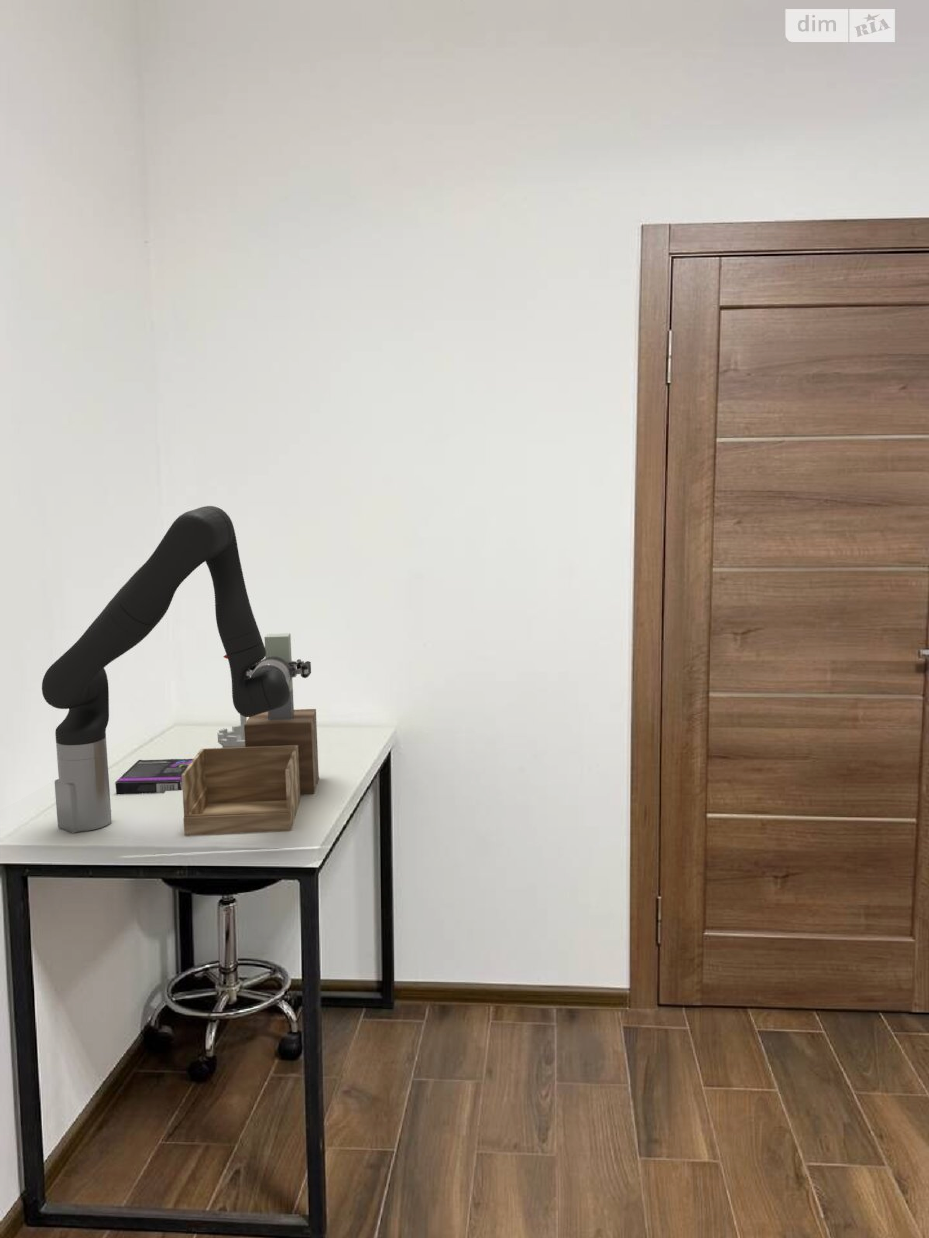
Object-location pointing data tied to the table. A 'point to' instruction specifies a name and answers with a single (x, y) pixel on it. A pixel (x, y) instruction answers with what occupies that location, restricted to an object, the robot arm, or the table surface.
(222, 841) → the table surface
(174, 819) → the table surface
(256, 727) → the riser
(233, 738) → the flag stand
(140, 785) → the box
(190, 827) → the wooden open bin
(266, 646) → the box
